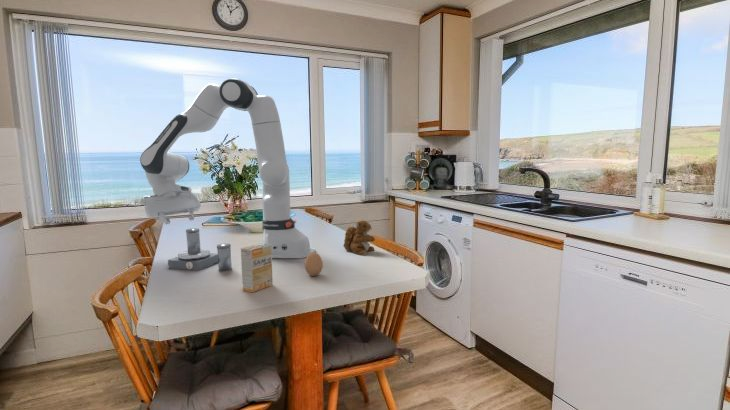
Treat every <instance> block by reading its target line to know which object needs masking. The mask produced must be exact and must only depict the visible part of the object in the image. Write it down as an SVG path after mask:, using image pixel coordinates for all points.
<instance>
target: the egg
mask: <svg viewBox="0 0 730 410" xmlns="http://www.w3.org/2000/svg"><path fill="white" fill-rule="evenodd" d="M305 258H306V259H305V261H304V269H305V271H306V273H307V274H308V275H309V276H312V277H315V276H316V277H317V276H318V275H320V273H322V270H323V267H324V264H323V260H322V259H323V258H322V257H321V256H320V254H318V253H317V252H315V253H314V252H313V253H310V254H309V255H308V256H307V257H305Z"/></svg>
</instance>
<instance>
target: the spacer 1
mask: <svg viewBox="0 0 730 410" xmlns="http://www.w3.org/2000/svg"><path fill="white" fill-rule="evenodd" d="M185 233H186V246H187V247H186V248H187V251H188V254H189V255H194V254H199V253H201V250H202V249H201V236H200V228H197V227H196V228H187V229H185Z"/></svg>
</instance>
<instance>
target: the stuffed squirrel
mask: <svg viewBox="0 0 730 410" xmlns="http://www.w3.org/2000/svg"><path fill="white" fill-rule="evenodd" d="M355 225H356V227H354V226H349V227H348V228H347V229H346V231H345V234H344V235H345V236H344V239H343V241H344V243H343V245H342V246H343V248H344V249H345V251H347V252H353V253H354V254H355V255H360V256H366V255H367V253H368V252H370V251H374V250H375V248H374V246H372V245H371V246H370V243H369V242H373V243H374V241H375V240H376V238H375V236H374V235H371V234H368V233H369V232H370V231H371V230H373V229H372V226H371V224H370V223H369V222H368V221H366V220H364V219H362V220H359V221H355Z"/></svg>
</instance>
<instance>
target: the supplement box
mask: <svg viewBox="0 0 730 410" xmlns="http://www.w3.org/2000/svg"><path fill="white" fill-rule="evenodd" d="M240 257H241V258H240V260H241V277H242V278H241V280H242V281H241V282H242V290H243V291H246V292H249V293H256V292H258V291H260V290H262V289H265V288H268V287H270V286H273V281H274V280H273V279H274V278H273V258H272V253H271V245H270V244H264V243H263V242H262V243H261V242H260V243H258V244H254V245H253V244H252V245H249V246H246V247H241V248H240Z"/></svg>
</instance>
